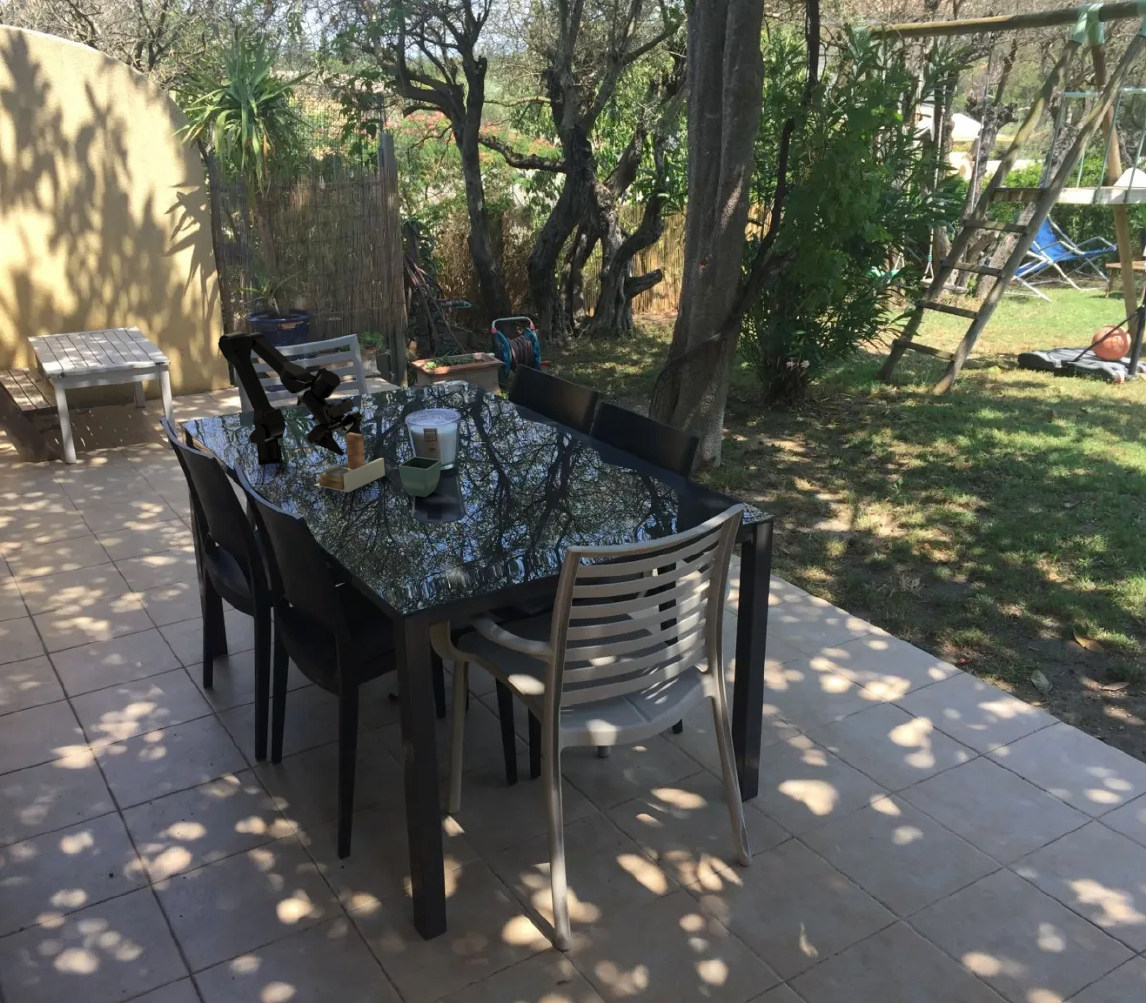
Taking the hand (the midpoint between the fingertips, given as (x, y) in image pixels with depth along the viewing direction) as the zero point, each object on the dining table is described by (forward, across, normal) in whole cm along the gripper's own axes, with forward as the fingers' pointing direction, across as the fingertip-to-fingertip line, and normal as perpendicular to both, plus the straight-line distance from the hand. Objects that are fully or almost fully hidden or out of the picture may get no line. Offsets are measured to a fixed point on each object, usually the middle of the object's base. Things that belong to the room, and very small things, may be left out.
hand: (353, 450), depth 279 cm
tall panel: (+6, 0, +5) cm, 7 cm away
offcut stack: (+6, -9, +4) cm, 12 cm away
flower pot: (+23, -2, -11) cm, 26 cm away
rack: (+7, -5, +5) cm, 9 cm away
